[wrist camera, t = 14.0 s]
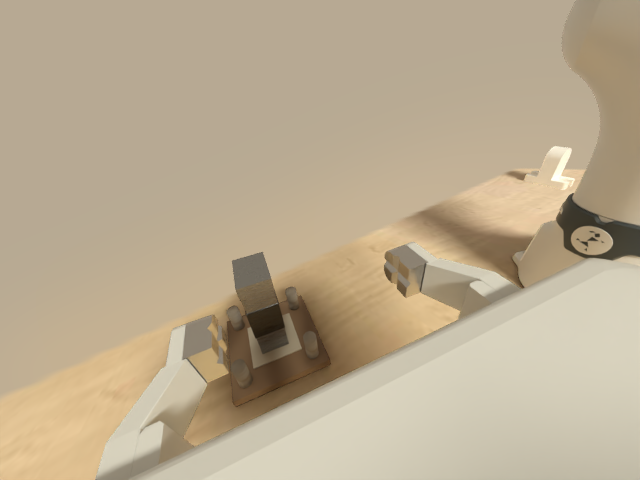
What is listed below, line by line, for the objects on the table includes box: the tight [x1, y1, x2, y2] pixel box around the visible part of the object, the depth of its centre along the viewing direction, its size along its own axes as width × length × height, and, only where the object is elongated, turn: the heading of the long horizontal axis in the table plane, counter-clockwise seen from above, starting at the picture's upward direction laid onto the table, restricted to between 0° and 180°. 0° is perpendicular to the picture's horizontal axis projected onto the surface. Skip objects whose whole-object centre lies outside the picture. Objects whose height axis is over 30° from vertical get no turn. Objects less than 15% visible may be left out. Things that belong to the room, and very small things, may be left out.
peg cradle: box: [227, 287, 330, 407], centre depth 32 cm, size 12×12×5 cm
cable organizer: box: [523, 146, 575, 190], centre depth 67 cm, size 5×10×10 cm, turn 30°
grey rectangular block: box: [232, 252, 289, 354], centre depth 30 cm, size 4×5×13 cm
